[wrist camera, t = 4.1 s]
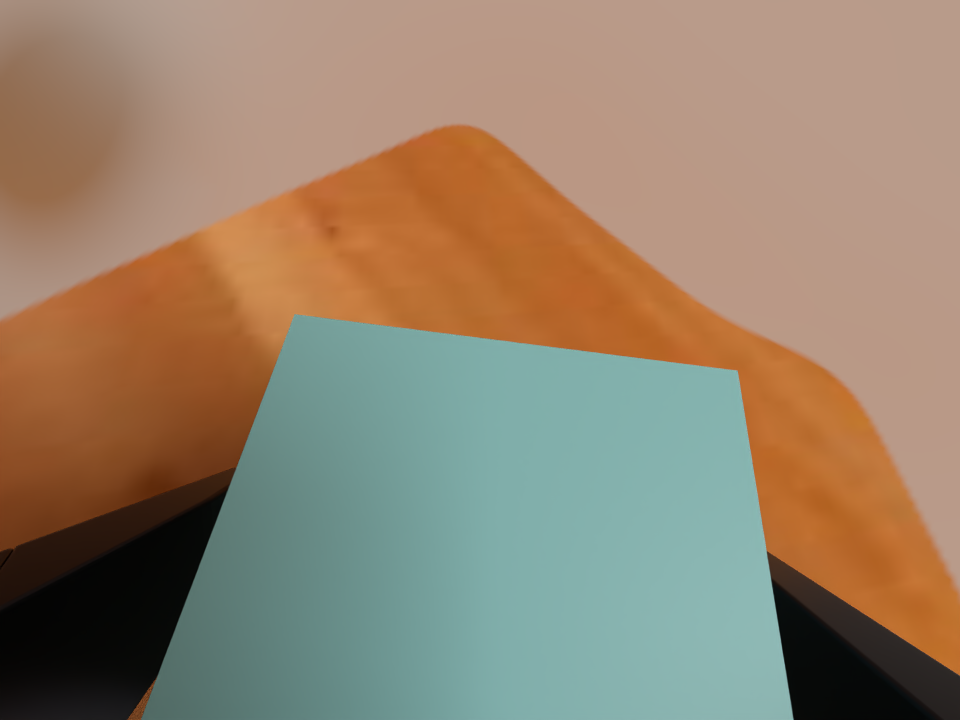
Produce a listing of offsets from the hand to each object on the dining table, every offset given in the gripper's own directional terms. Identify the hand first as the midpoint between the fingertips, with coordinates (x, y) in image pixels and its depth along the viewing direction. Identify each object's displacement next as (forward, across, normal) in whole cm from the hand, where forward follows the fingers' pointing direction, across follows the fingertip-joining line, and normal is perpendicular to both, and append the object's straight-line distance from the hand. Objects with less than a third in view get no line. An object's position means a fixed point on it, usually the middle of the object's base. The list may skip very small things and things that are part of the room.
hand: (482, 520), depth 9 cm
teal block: (+3, 0, +5) cm, 6 cm away
